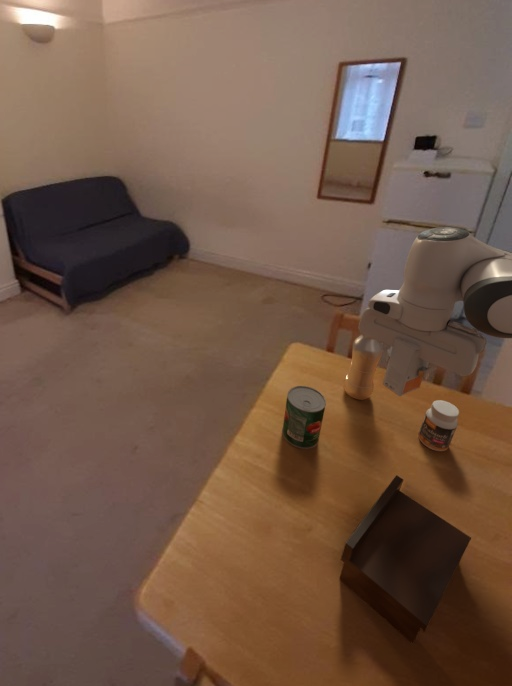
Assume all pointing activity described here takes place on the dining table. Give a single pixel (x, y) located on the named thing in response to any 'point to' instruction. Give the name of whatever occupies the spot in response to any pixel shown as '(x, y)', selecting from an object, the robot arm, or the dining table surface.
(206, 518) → the dining table surface
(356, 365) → the plastic bottle
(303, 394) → the canned tomato
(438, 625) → the dining table surface
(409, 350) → the cosmetic box
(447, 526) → the dark brown plinth
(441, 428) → the pill bottle
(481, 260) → the robot arm
